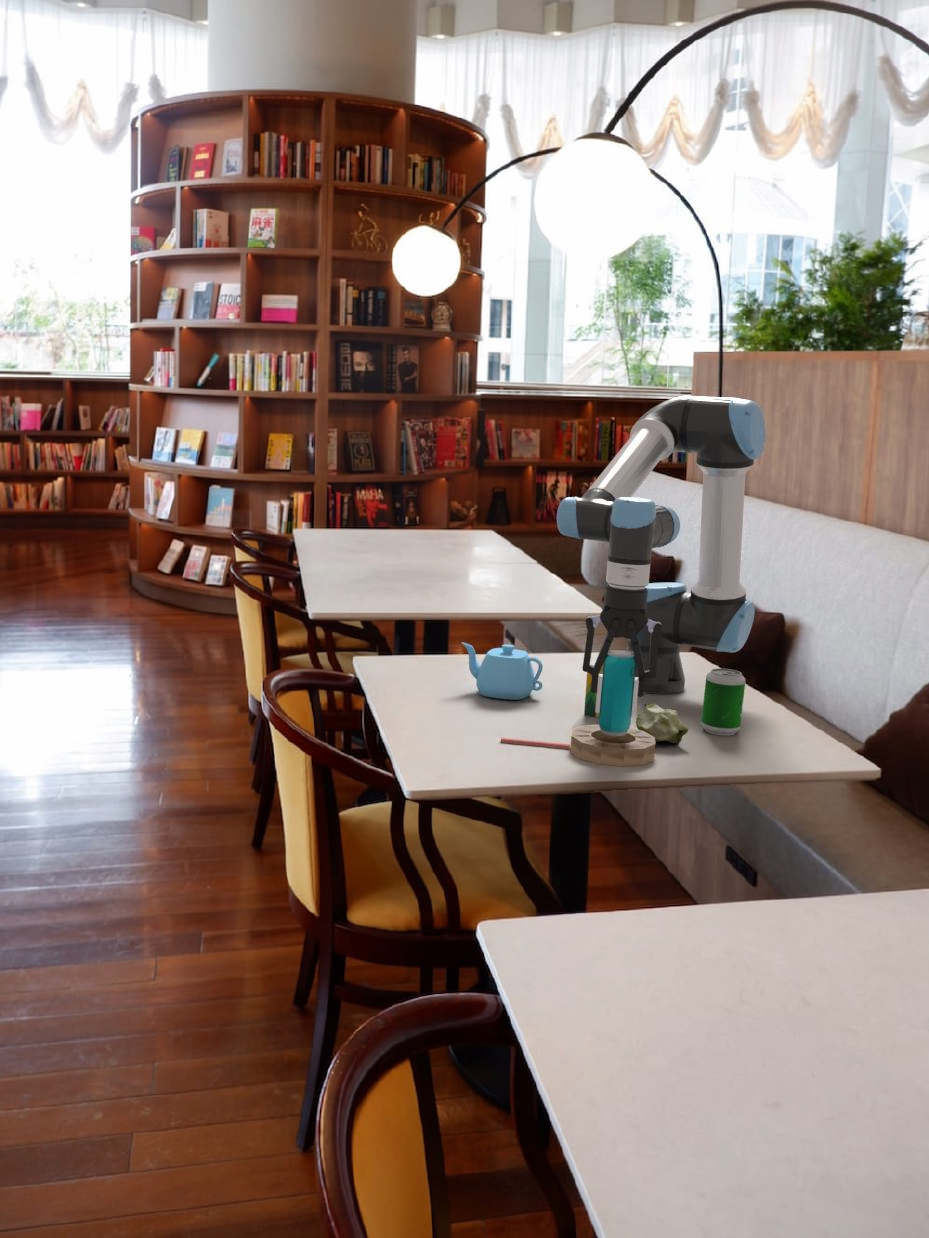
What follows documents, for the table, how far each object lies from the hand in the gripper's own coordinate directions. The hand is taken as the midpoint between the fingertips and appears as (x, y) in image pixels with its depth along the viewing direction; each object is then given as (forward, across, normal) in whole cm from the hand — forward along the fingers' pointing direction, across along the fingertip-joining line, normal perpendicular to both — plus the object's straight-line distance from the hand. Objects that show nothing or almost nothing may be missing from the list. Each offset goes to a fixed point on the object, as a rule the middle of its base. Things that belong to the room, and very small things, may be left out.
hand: (615, 712), depth 215 cm
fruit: (+8, +9, +10) cm, 15 cm away
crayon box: (+8, -3, +26) cm, 27 cm away
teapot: (+8, -24, +34) cm, 42 cm away
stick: (+8, -14, 0) cm, 16 cm away
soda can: (+8, +21, +21) cm, 31 cm away
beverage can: (+4, 0, 0) cm, 4 cm away
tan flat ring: (+8, 0, 0) cm, 8 cm away
